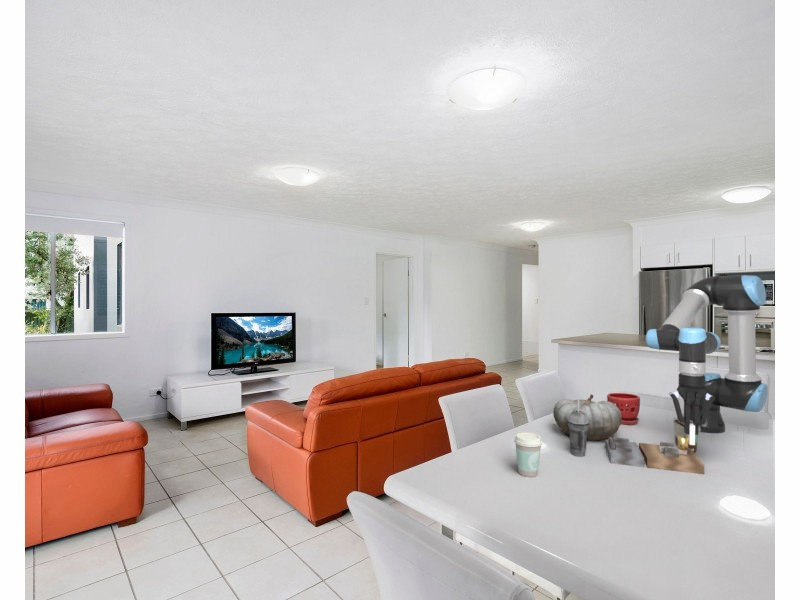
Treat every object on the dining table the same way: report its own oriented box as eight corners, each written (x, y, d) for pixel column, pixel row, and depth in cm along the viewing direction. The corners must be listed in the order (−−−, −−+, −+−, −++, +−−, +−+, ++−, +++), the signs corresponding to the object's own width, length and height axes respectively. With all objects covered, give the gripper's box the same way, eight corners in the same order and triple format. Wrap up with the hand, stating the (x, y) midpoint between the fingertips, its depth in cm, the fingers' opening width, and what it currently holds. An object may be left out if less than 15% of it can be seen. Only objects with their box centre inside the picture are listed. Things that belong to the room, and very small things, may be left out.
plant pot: (640, 420, 197) (641, 394, 197) (638, 428, 186) (638, 400, 186) (609, 416, 204) (609, 390, 204) (605, 423, 193) (605, 396, 193)
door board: (689, 456, 154) (689, 441, 154) (704, 474, 139) (704, 457, 139) (605, 447, 163) (605, 432, 163) (610, 463, 148) (610, 447, 148)
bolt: (686, 452, 149) (686, 436, 149) (689, 455, 146) (689, 439, 146) (658, 449, 152) (658, 433, 151) (660, 452, 149) (660, 436, 149)
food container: (707, 456, 154) (707, 428, 154) (687, 454, 156) (688, 426, 155) (691, 444, 166) (691, 418, 166) (673, 443, 168) (673, 417, 167)
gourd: (615, 445, 158) (608, 396, 160) (547, 442, 172) (542, 397, 175) (629, 434, 177) (623, 391, 180) (567, 433, 192) (562, 393, 195)
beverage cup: (589, 452, 158) (589, 397, 157) (588, 459, 151) (589, 402, 151) (568, 449, 161) (568, 395, 161) (566, 456, 154) (566, 399, 154)
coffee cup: (527, 481, 134) (527, 442, 134) (508, 471, 142) (508, 434, 141) (547, 475, 138) (548, 438, 138) (528, 466, 146) (528, 430, 145)
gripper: (672, 374, 145) (671, 445, 145) (718, 377, 141) (717, 449, 141) (666, 370, 152) (666, 438, 153) (710, 373, 148) (710, 442, 148)
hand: (691, 443), depth 147 cm, fingers closed
